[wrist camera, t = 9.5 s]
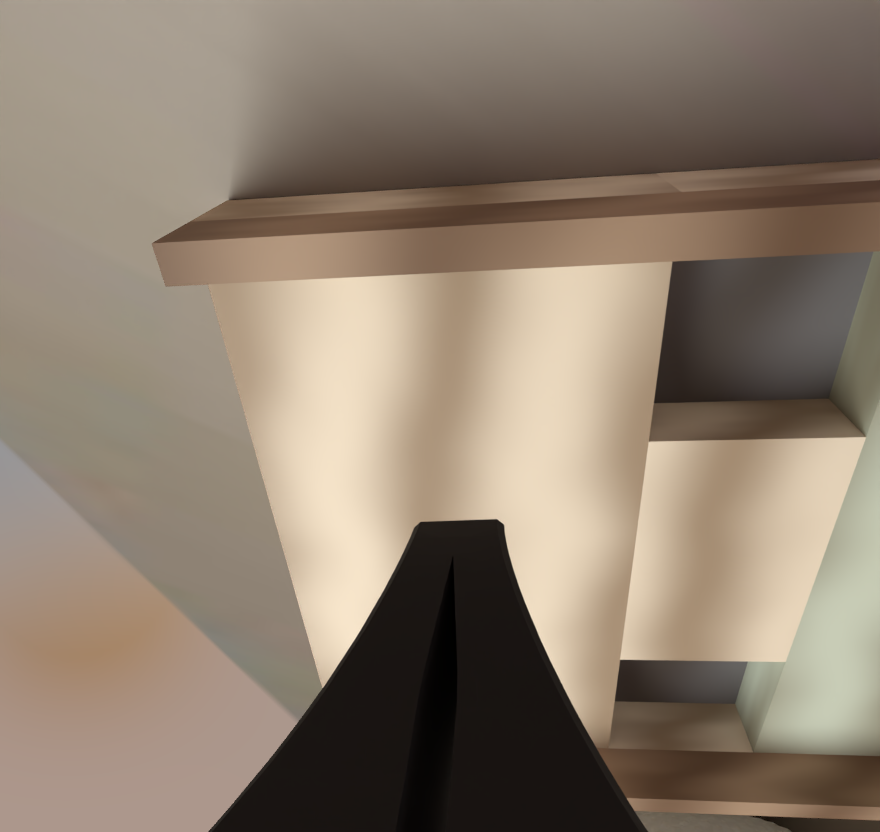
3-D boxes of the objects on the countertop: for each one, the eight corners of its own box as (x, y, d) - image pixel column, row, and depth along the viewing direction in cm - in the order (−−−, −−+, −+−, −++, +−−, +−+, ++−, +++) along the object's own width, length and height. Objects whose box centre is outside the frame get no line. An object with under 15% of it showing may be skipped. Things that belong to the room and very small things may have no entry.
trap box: (1383, 127, 14) (1762, 159, 10) (983, 716, 27) (1077, 842, 22) (227, 200, 17) (140, 249, 13) (351, 702, 30) (328, 811, 25)
